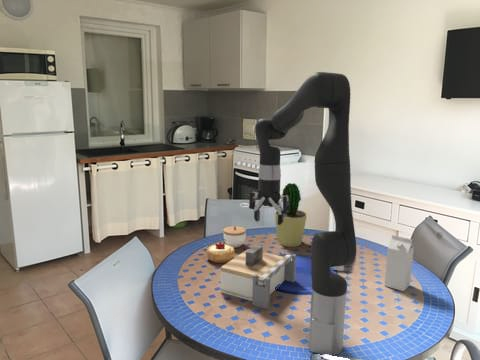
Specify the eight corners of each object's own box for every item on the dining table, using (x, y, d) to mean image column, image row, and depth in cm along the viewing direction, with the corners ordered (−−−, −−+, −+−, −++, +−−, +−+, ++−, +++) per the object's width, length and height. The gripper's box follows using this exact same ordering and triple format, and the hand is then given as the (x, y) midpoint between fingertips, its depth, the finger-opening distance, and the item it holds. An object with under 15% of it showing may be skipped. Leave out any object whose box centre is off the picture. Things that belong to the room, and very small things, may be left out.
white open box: (267, 309, 129) (268, 279, 127) (217, 294, 138) (217, 266, 136) (295, 280, 150) (296, 254, 148) (249, 269, 159) (250, 245, 157)
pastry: (201, 260, 170) (200, 240, 168) (221, 252, 178) (221, 233, 176) (220, 267, 161) (219, 246, 160) (240, 259, 170) (239, 239, 168)
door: (262, 285, 128) (263, 266, 127) (217, 273, 137) (217, 255, 135) (291, 259, 150) (292, 243, 148) (250, 250, 158) (250, 235, 157)
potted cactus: (310, 240, 193) (313, 181, 187) (298, 250, 180) (301, 186, 174) (281, 235, 201) (283, 177, 195) (268, 244, 188) (270, 182, 182)
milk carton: (390, 279, 152) (395, 232, 148) (409, 285, 148) (415, 237, 144) (384, 286, 147) (388, 237, 143) (403, 292, 142) (409, 242, 138)
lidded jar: (220, 242, 190) (220, 223, 188) (241, 240, 193) (242, 222, 191) (226, 250, 179) (226, 230, 178) (248, 248, 183) (249, 228, 181)
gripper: (246, 177, 135) (245, 222, 138) (284, 180, 129) (283, 228, 132) (255, 174, 142) (254, 217, 145) (292, 177, 135) (291, 223, 138)
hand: (268, 222), depth 138 cm, fingers open, 8 cm apart
